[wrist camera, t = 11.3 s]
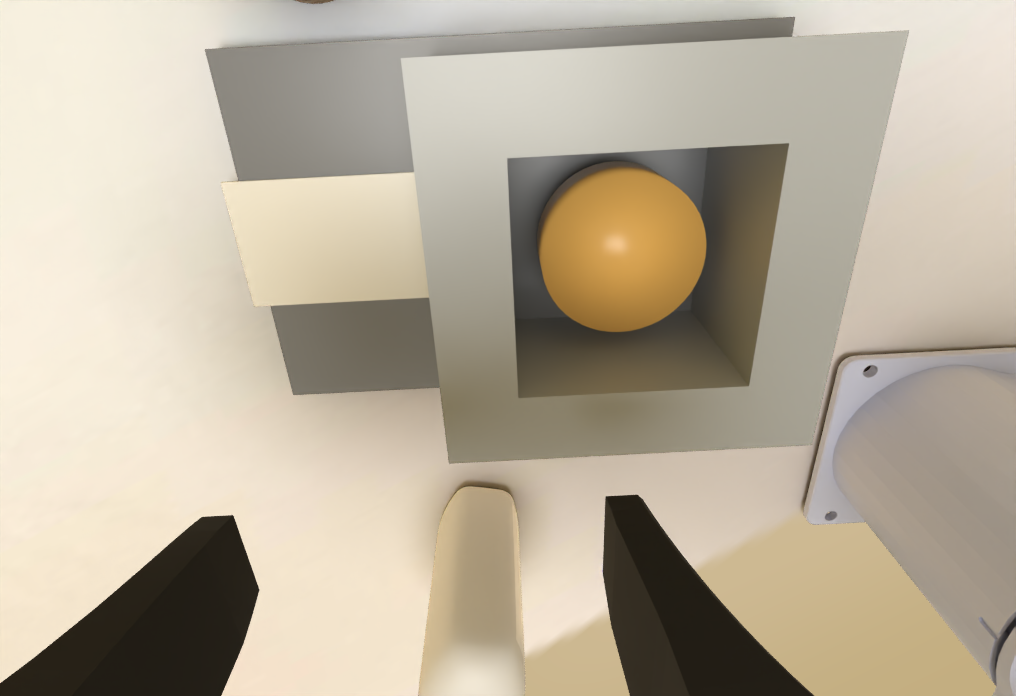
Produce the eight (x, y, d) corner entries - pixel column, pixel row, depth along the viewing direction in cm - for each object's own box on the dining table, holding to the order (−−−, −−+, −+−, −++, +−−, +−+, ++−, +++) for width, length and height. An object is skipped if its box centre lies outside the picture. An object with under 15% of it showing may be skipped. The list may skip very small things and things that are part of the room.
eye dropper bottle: (556, 515, 25) (603, 865, 14) (479, 588, 27) (468, 945, 16) (475, 466, 23) (458, 811, 13) (399, 547, 25) (329, 905, 15)
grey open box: (779, 19, 16) (916, 0, 11) (729, 358, 21) (808, 459, 16) (203, 50, 16) (62, 47, 11) (288, 381, 21) (219, 489, 16)
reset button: (693, 156, 16) (715, 168, 14) (679, 303, 18) (697, 327, 16) (534, 165, 16) (538, 177, 14) (538, 311, 18) (542, 336, 16)
